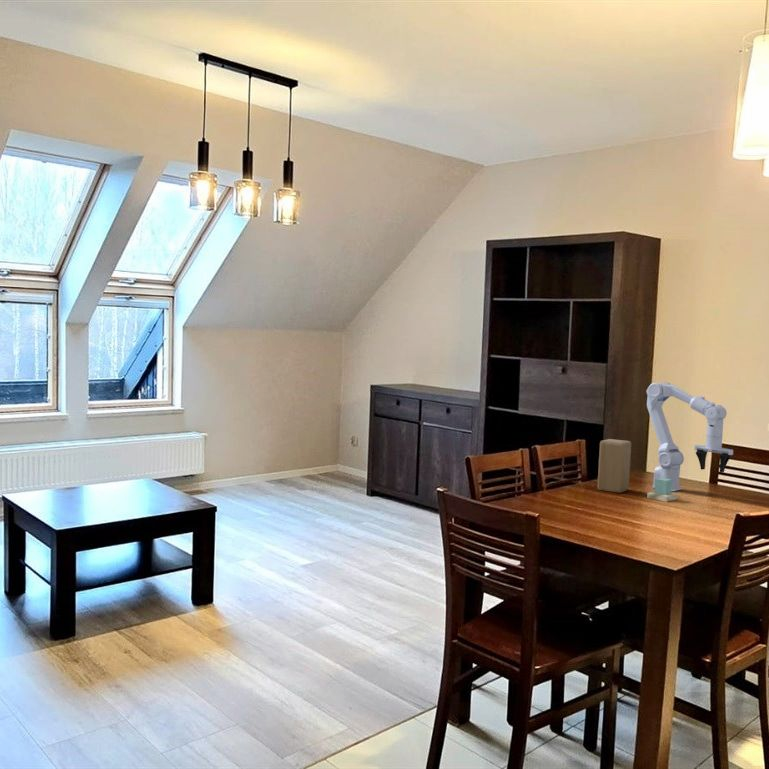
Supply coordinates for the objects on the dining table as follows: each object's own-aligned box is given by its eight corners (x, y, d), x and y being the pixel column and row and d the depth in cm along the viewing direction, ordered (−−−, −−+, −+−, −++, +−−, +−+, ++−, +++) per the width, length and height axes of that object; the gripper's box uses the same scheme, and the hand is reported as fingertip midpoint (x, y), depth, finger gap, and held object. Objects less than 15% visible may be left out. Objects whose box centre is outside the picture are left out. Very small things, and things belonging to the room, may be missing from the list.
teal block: (654, 493, 296) (655, 478, 295) (659, 491, 299) (660, 477, 298) (665, 495, 292) (666, 480, 292) (670, 493, 295) (671, 479, 295)
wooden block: (605, 486, 316) (607, 438, 315) (629, 490, 310) (632, 441, 309) (596, 490, 308) (599, 440, 307) (621, 493, 302) (624, 443, 301)
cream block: (647, 497, 296) (647, 492, 296) (657, 495, 301) (657, 490, 301) (666, 501, 290) (667, 496, 290) (677, 499, 295) (677, 494, 295)
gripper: (691, 434, 303) (689, 468, 304) (728, 439, 292) (726, 474, 293) (700, 433, 308) (698, 467, 309) (736, 438, 297) (734, 472, 298)
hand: (712, 470), depth 301 cm, fingers open, 7 cm apart
